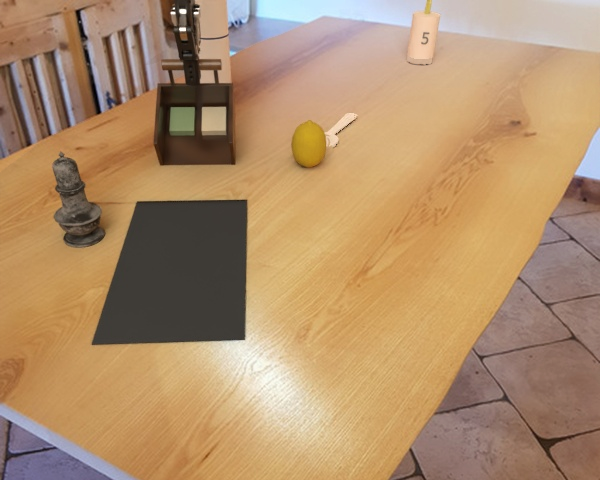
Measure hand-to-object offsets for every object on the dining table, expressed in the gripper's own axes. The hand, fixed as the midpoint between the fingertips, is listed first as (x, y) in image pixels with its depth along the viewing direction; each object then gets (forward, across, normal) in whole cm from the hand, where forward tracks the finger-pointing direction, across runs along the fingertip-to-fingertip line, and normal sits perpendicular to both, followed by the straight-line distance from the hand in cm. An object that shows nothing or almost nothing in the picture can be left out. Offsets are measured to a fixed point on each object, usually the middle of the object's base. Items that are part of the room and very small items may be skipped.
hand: (193, 81), depth 86 cm
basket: (+9, +1, 0) cm, 9 cm away
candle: (+13, -48, +50) cm, 70 cm away
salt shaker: (+11, +26, -14) cm, 31 cm away
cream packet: (+7, -1, +3) cm, 8 cm away
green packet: (+7, -1, -3) cm, 8 cm away
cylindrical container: (+12, -23, +1) cm, 26 cm away
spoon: (+12, -7, +24) cm, 27 cm away
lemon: (+12, +7, +18) cm, 22 cm away
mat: (+11, +27, 0) cm, 29 cm away
